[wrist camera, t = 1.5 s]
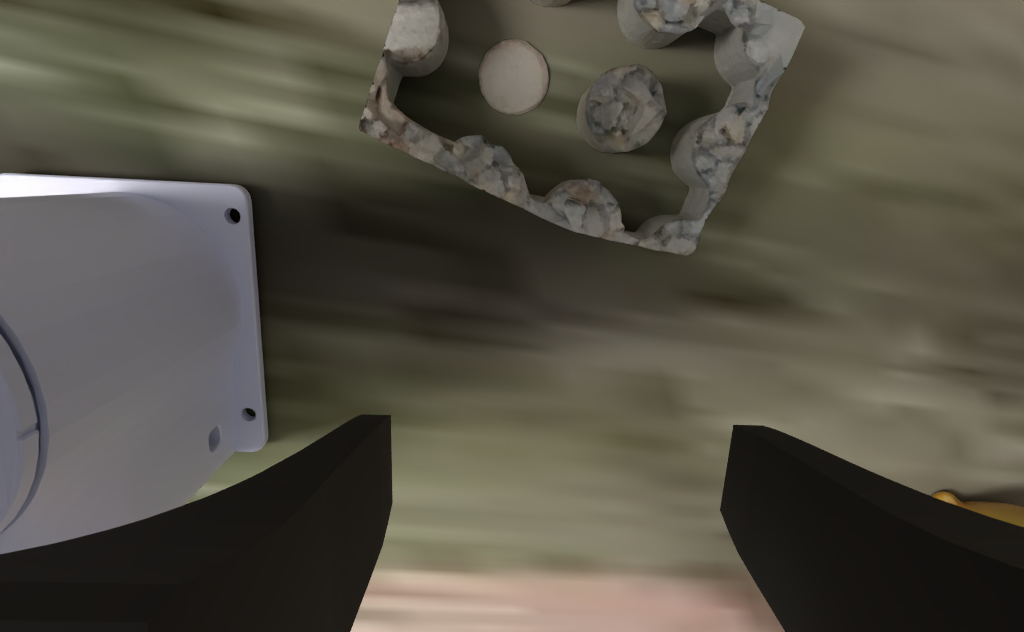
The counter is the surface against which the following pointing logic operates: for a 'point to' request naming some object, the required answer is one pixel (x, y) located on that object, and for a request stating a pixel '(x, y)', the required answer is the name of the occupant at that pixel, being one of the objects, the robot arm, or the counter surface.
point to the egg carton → (598, 109)
